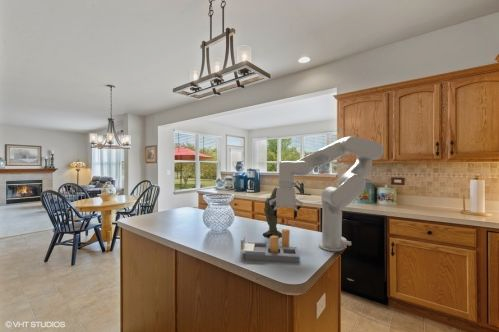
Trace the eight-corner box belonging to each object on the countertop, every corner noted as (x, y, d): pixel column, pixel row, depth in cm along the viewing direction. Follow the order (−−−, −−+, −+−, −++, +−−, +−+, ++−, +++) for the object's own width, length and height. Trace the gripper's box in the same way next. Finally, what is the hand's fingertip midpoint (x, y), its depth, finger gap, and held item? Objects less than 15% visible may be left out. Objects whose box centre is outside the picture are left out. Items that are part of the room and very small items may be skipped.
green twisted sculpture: (259, 237, 135) (272, 186, 136) (256, 233, 142) (268, 185, 143) (281, 240, 138) (293, 191, 140) (276, 237, 145) (288, 190, 147)
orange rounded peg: (289, 246, 123) (289, 229, 123) (289, 248, 119) (289, 231, 119) (281, 245, 124) (281, 228, 123) (281, 248, 120) (281, 231, 120)
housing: (296, 252, 115) (296, 244, 115) (299, 262, 103) (299, 253, 103) (247, 249, 117) (248, 242, 117) (245, 259, 105) (245, 251, 105)
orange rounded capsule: (278, 254, 112) (278, 235, 112) (278, 257, 108) (278, 238, 108) (269, 254, 112) (270, 235, 112) (269, 257, 108) (270, 238, 108)
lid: (254, 245, 116) (254, 235, 116) (253, 253, 106) (253, 242, 106) (242, 245, 116) (242, 235, 116) (240, 252, 107) (240, 241, 107)
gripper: (302, 184, 124) (301, 217, 124) (269, 183, 126) (268, 215, 126) (304, 186, 116) (303, 220, 117) (269, 185, 118) (268, 218, 118)
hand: (285, 217), depth 121 cm, fingers open, 9 cm apart
